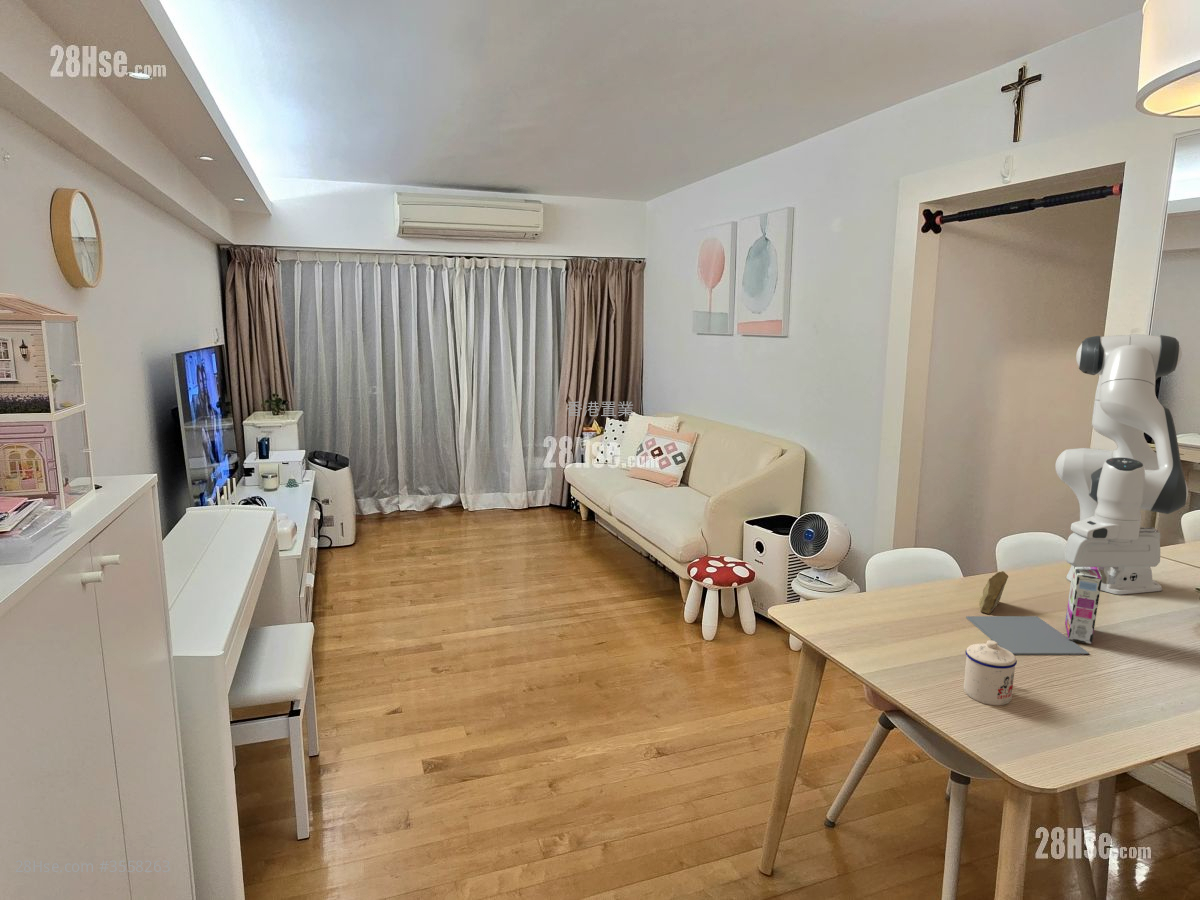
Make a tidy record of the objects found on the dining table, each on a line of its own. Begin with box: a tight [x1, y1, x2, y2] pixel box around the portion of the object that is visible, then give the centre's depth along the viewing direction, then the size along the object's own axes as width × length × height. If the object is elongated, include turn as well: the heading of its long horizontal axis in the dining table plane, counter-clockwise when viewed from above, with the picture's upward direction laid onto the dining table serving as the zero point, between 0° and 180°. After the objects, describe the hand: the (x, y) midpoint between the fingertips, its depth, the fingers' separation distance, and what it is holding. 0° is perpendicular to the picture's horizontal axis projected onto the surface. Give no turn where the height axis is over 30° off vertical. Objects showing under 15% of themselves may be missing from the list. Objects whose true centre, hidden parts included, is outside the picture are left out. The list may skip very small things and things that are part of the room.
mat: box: [965, 615, 1090, 656], centre depth 167 cm, size 18×20×1 cm
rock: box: [978, 571, 1009, 615], centre depth 184 cm, size 11×9×10 cm
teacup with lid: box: [963, 639, 1018, 706], centre depth 141 cm, size 12×9×12 cm
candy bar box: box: [1064, 566, 1102, 645], centre depth 166 cm, size 11×5×16 cm, turn 150°
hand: (1108, 583), depth 164 cm, fingers closed
